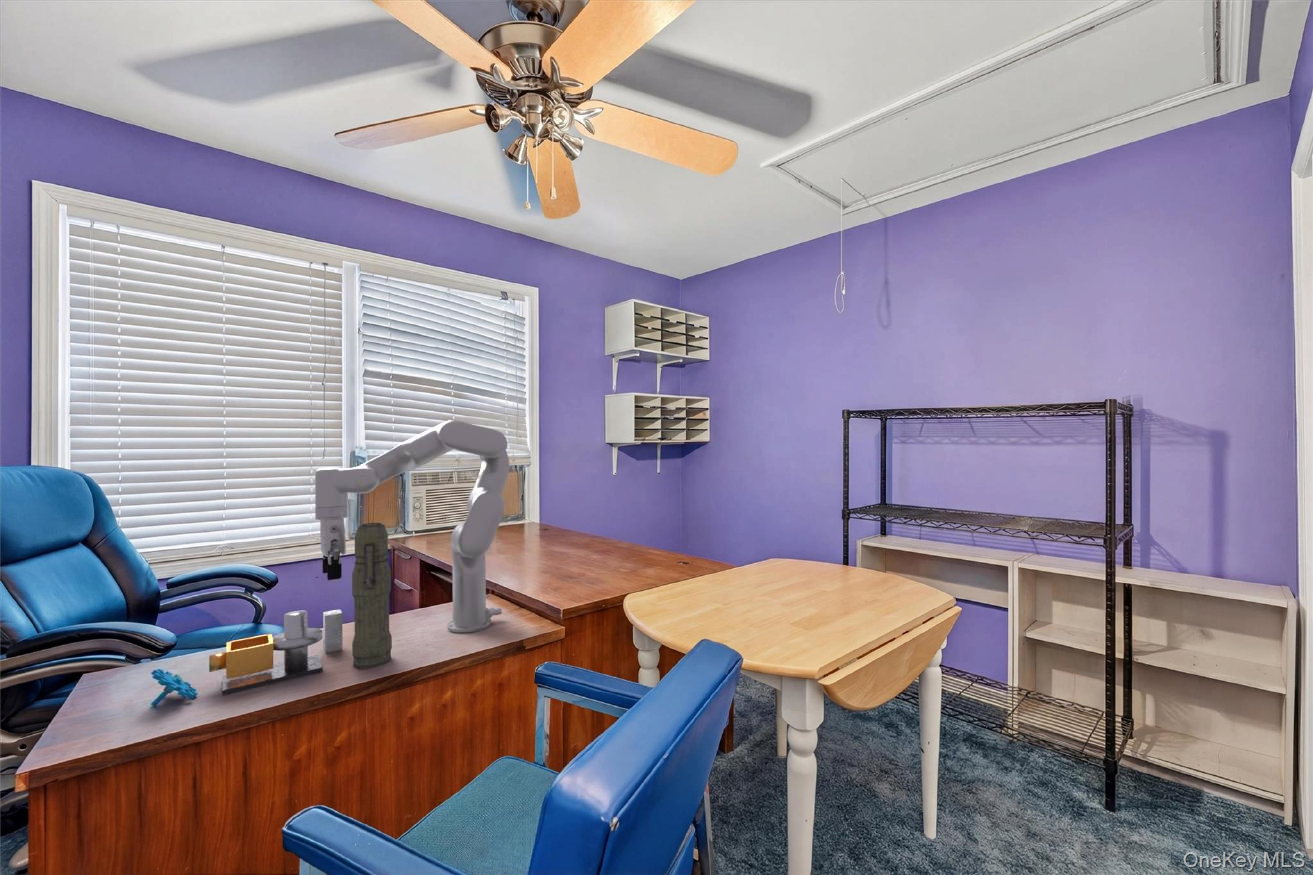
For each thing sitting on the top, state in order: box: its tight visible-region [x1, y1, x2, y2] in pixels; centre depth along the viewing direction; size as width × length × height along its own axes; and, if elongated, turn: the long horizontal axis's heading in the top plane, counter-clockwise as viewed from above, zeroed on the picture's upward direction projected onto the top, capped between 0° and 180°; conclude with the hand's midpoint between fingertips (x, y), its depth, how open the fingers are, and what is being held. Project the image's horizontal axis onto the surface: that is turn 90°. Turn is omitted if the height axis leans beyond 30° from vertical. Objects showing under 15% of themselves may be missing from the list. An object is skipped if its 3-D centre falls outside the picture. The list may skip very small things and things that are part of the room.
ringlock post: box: [208, 609, 324, 696], centre depth 127 cm, size 22×11×14 cm, turn 128°
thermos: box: [351, 522, 393, 669], centre depth 135 cm, size 9×12×35 cm
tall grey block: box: [322, 608, 344, 654], centre depth 144 cm, size 4×4×10 cm
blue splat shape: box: [150, 668, 199, 707], centre depth 115 cm, size 11×6×10 cm
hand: (331, 575), depth 144 cm, fingers open, 9 cm apart
